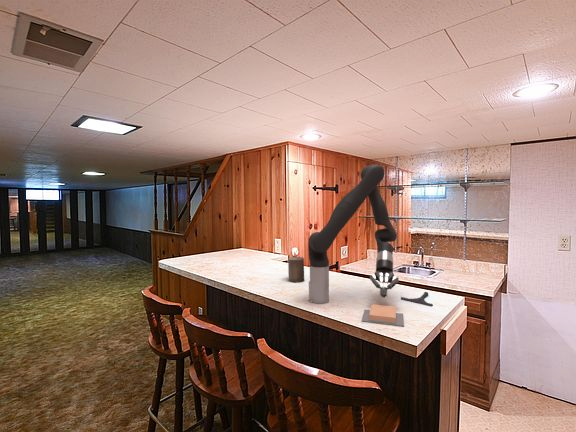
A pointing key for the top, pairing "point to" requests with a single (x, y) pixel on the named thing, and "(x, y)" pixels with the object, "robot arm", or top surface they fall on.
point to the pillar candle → (296, 269)
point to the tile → (383, 314)
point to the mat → (398, 322)
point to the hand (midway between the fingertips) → (383, 296)
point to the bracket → (419, 300)
